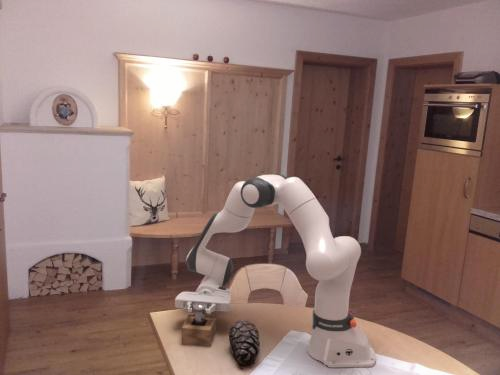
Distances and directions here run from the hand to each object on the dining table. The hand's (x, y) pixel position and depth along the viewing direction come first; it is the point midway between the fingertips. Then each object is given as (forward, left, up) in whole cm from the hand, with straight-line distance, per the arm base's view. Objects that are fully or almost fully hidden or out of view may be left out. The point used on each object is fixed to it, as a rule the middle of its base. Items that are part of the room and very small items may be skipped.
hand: (198, 311), depth 155 cm
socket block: (0, -1, -10) cm, 10 cm away
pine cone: (-18, +7, -11) cm, 22 cm away
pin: (0, -1, -8) cm, 8 cm away
